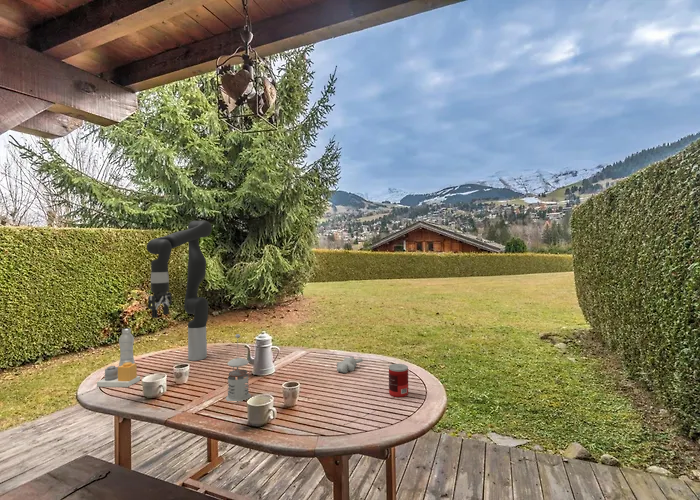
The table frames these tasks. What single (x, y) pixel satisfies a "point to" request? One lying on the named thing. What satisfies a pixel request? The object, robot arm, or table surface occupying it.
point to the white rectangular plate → (117, 383)
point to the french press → (238, 380)
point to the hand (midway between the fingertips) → (160, 316)
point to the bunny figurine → (347, 364)
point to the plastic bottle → (126, 346)
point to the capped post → (111, 373)
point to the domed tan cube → (127, 371)
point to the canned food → (398, 380)
